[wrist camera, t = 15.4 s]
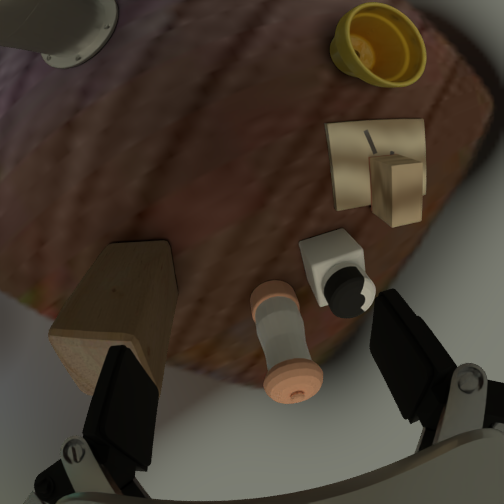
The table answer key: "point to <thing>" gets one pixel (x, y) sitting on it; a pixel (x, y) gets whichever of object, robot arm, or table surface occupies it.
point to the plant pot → (378, 46)
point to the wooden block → (119, 312)
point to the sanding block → (396, 189)
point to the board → (369, 154)
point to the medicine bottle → (337, 273)
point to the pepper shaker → (284, 344)
